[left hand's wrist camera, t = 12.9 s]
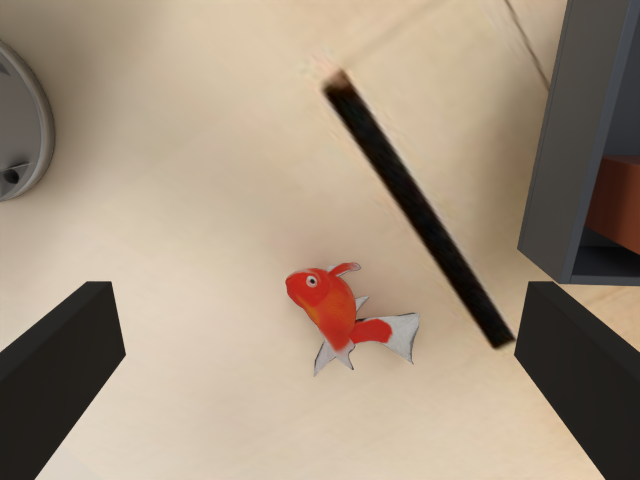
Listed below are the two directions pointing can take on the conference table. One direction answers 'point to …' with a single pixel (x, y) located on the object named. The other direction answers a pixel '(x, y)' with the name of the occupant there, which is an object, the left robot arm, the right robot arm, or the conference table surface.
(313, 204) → the conference table surface
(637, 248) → the block
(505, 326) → the conference table surface
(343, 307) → the fish
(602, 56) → the tray
